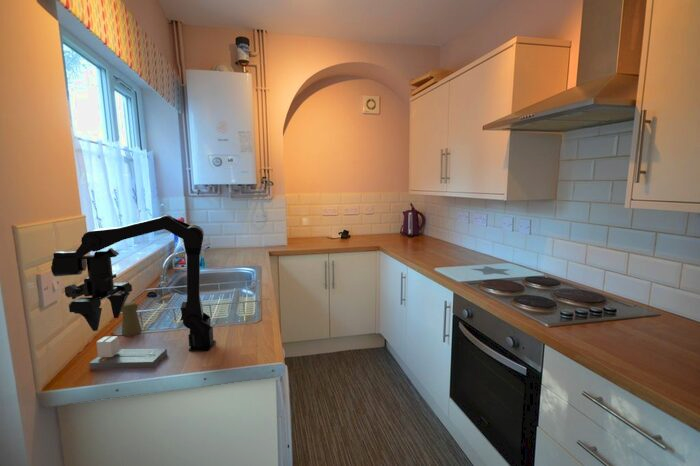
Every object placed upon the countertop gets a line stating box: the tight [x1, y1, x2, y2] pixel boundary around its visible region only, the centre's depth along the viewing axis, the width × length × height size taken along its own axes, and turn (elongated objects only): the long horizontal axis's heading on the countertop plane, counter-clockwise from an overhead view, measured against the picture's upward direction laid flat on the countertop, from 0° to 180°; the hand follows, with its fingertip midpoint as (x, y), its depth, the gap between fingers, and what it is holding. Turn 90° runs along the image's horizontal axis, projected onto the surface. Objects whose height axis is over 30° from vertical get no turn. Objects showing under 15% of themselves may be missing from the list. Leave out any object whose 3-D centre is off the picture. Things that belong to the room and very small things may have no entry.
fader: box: [96, 335, 120, 357], centre depth 103 cm, size 4×4×5 cm
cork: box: [121, 301, 142, 337], centre depth 124 cm, size 6×6×11 cm
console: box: [88, 348, 168, 370], centre depth 104 cm, size 18×8×2 cm, turn 91°
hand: (106, 324), depth 102 cm, fingers open, 9 cm apart
